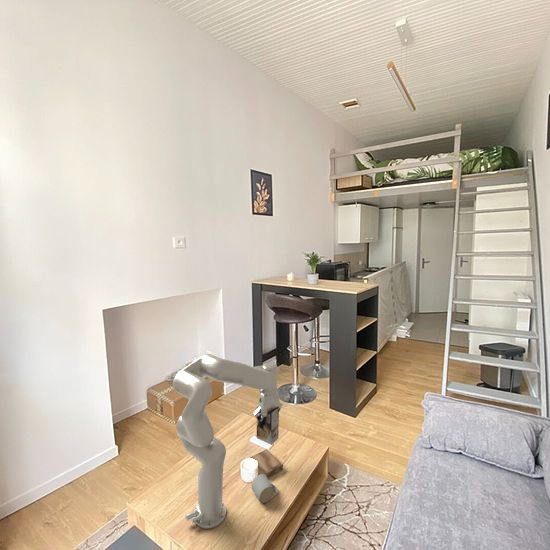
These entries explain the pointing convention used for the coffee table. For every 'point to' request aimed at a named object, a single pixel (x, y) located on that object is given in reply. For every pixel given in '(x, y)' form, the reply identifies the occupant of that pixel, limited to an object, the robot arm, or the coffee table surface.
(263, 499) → the ceramic mug
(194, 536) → the coffee table surface
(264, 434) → the coffee box
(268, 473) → the walnut tray
